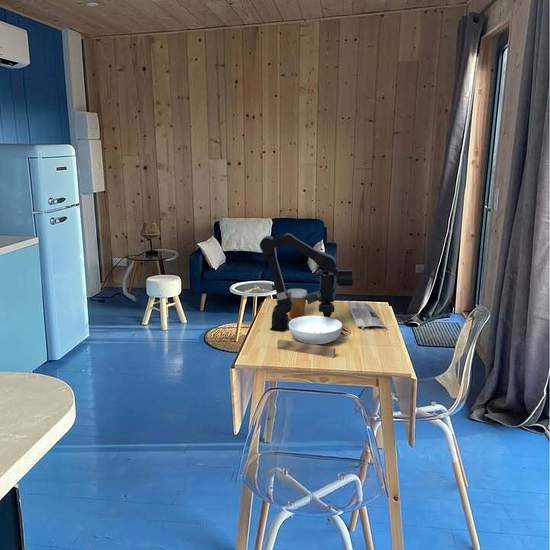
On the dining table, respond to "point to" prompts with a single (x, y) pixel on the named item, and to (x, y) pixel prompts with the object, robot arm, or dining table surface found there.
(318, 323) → the serving bowl
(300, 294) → the disposable coffee cup
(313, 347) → the walnut bar
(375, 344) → the dining table surface
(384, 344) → the dining table surface
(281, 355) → the dining table surface
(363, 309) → the newspaper
